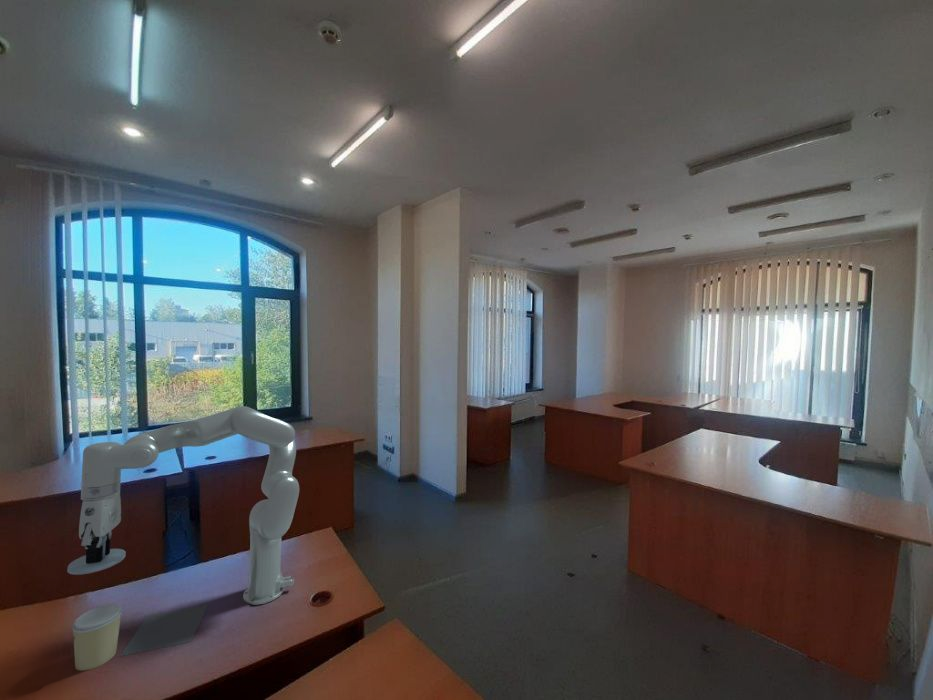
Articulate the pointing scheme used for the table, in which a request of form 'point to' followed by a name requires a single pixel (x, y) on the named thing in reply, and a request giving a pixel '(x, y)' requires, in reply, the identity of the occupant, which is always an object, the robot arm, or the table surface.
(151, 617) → the mat
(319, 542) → the table surface
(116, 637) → the coffee cup
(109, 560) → the lid
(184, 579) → the table surface
